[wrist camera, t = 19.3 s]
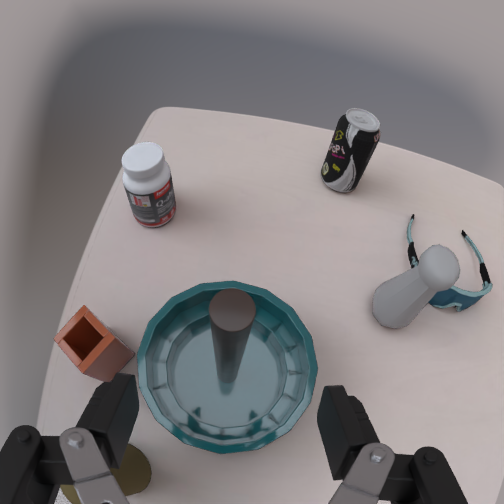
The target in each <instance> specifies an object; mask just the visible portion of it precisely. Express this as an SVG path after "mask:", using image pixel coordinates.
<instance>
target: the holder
mask: <svg viewBox="0 0 504 504" xmlns="http://www.w3.org/2000/svg"><path fill="white" fill-rule="evenodd" d="M54 340H55V342H56V343H57V344H58V345H59V347H60V348H61V349H62V350H63V351H64V353H65V354H66V355H67V356H68V357H69V359H70V360H71V361H72V362H73V363H74V364H75V366H76V367H78V369H79V370H80V371H81V372H82V373H83V374H85V375H88V376H90V377H93V378H95V379H98V380H101V381H103V382H110V381H111V380H112V379H113V378H114V376H115V374H116V373H117V372H119V371H120V370H121V369H122V368H123V367H124V366H125V365H126V363H127V362H128V361H129V360H130V359H131V358H132V357H133V356H134V354H135V353H134V352H133V351H132V350H131V349H130V348H129V347H128V346H127V345H126V344H125V343H124V342H123V341H122V340H120V339H119V338H118V337H117V336H116V335H115V334H114V333H113V332H112V331H111V330H110V329H109V328H108V327H107V326H106V325H105V324H104V323H103V322H102V321H101V320H100V319H99V318H98V317H97V316H96V315H94V314H93V313H92V312H91V311H90V310H89V309H88V308H87V307H86V306H85V305H83V307H82V308H81V309H80V310H79V311H78V312H77V313H76V314H75V315H74V316H73V317H72V318H71V320H70V321H69V322H68V323H67V324H66V325H65V326H64V327H63V328H62V329H61V331H60V332H59V333H58V334H57V335H56V336H55V337H54Z"/></svg>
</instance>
